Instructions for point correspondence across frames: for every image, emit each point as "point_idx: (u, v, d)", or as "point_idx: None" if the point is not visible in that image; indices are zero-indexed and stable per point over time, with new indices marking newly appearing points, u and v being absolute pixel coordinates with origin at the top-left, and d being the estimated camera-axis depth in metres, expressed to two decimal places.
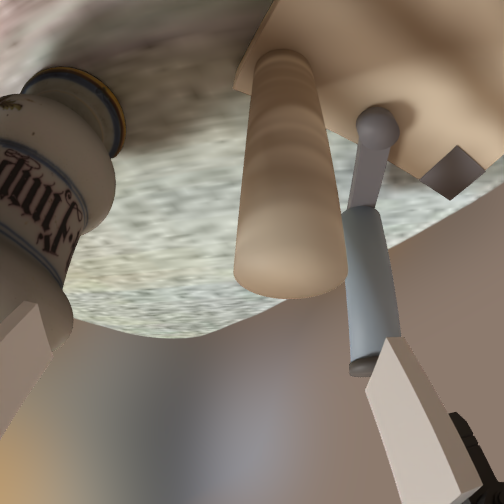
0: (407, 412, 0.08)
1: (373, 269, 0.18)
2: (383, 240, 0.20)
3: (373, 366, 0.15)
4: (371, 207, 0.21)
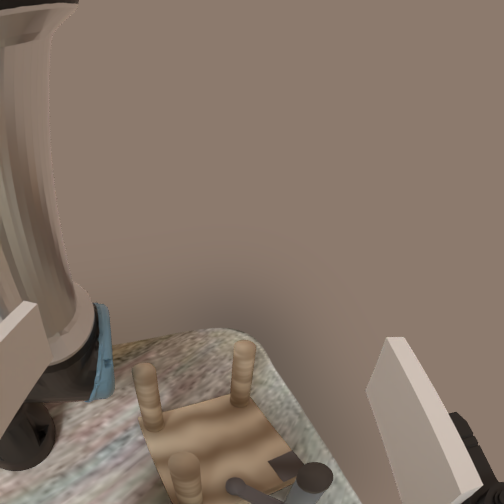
0: (407, 412, 0.08)
1: None
2: None
3: (298, 475, 0.23)
4: None
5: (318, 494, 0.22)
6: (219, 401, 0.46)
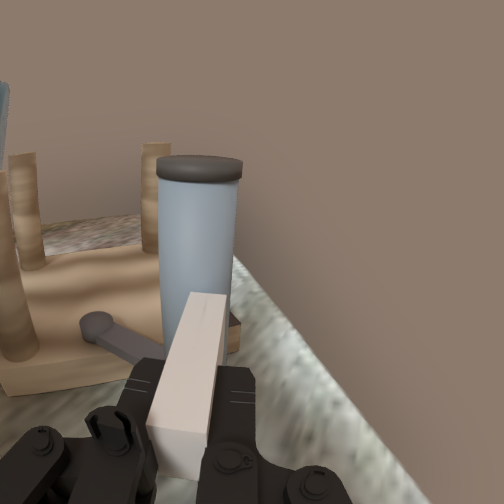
0: None
1: None
2: None
3: (159, 158, 0.12)
4: None
5: (208, 200, 0.11)
6: (127, 248, 0.34)
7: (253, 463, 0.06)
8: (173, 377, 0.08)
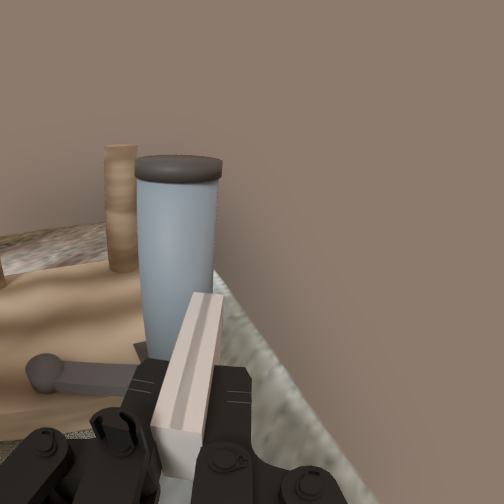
0: None
1: (141, 296, 0.14)
2: None
3: (138, 161, 0.11)
4: None
5: (208, 198, 0.11)
6: (93, 266, 0.29)
7: (248, 463, 0.06)
8: (177, 378, 0.08)
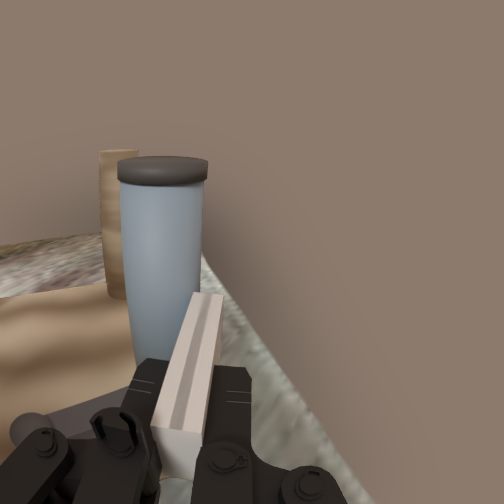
0: None
1: (131, 312, 0.12)
2: None
3: (132, 166, 0.10)
4: None
5: (202, 196, 0.12)
6: (89, 290, 0.25)
7: (248, 463, 0.06)
8: (177, 378, 0.08)
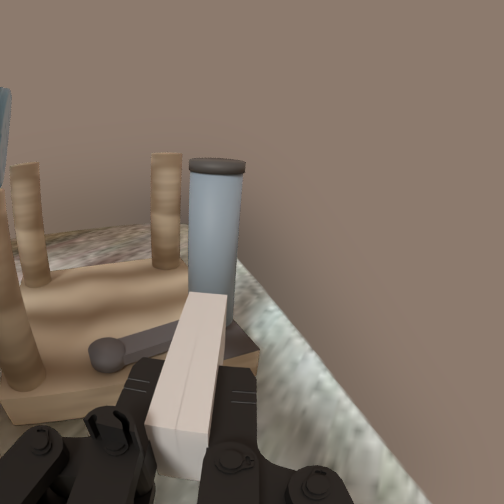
0: None
1: (192, 257, 0.20)
2: None
3: (202, 162, 0.17)
4: None
5: None
6: (136, 263, 0.32)
7: (255, 463, 0.06)
8: (172, 377, 0.08)
